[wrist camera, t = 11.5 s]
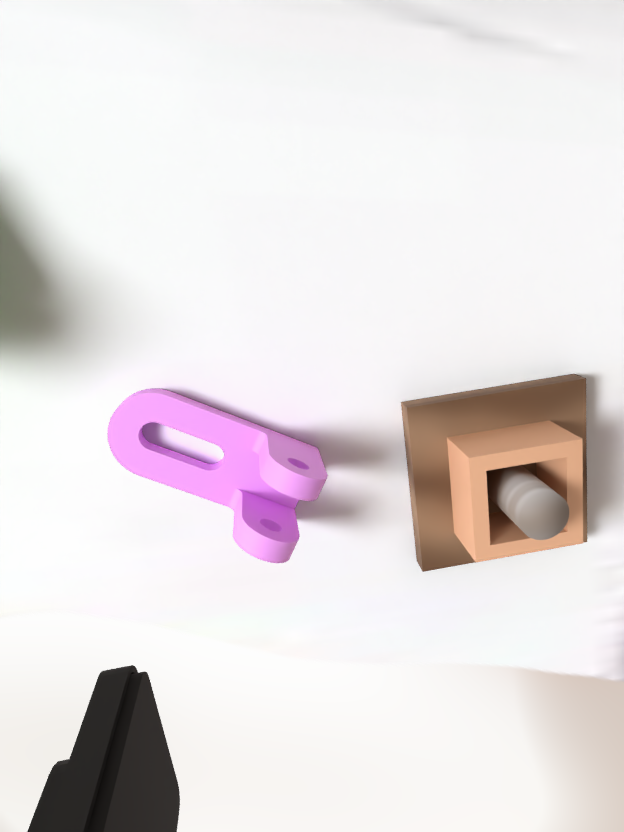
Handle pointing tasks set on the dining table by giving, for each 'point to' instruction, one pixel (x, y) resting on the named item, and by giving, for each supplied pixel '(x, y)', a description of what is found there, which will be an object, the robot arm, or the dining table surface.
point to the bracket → (224, 466)
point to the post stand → (506, 487)
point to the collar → (507, 448)
